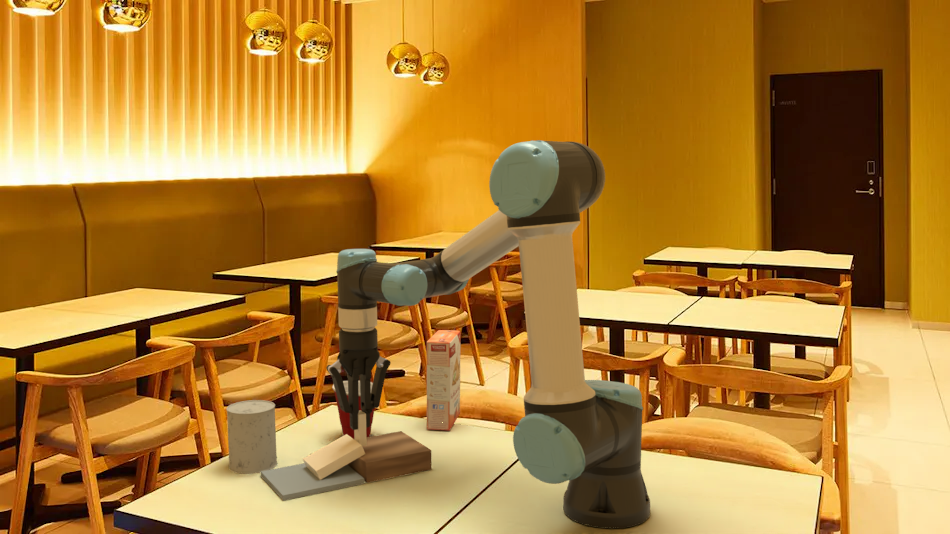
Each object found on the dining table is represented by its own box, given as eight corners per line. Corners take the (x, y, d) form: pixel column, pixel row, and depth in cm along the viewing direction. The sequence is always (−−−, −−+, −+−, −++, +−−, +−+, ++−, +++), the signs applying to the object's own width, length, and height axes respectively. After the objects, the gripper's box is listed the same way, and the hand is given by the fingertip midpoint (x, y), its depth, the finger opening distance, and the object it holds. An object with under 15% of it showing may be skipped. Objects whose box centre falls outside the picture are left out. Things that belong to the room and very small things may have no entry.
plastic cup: (376, 446, 185) (375, 392, 184) (327, 445, 186) (326, 391, 185) (386, 430, 196) (385, 379, 194) (340, 429, 197) (338, 378, 195)
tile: (365, 453, 167) (361, 445, 167) (320, 480, 163) (316, 471, 163) (350, 442, 174) (346, 433, 174) (306, 467, 170) (302, 458, 169)
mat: (364, 483, 164) (364, 478, 164) (283, 500, 156) (283, 495, 156) (337, 461, 176) (337, 456, 176) (260, 476, 168) (260, 471, 168)
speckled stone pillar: (219, 465, 174) (217, 407, 173) (260, 453, 181) (258, 397, 179) (245, 477, 168) (243, 416, 166) (286, 464, 175) (284, 406, 173)
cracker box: (451, 431, 195) (451, 341, 192) (425, 430, 196) (424, 341, 193) (462, 413, 209) (461, 329, 206) (437, 412, 209) (437, 328, 207)
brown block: (431, 469, 171) (431, 450, 171) (366, 483, 164) (366, 462, 164) (401, 449, 183) (401, 431, 183) (339, 461, 176) (339, 442, 176)
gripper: (380, 321, 174) (382, 433, 177) (319, 328, 168) (322, 444, 171) (396, 327, 168) (398, 443, 171) (333, 334, 161) (336, 455, 164)
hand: (360, 443), depth 171 cm, fingers closed
